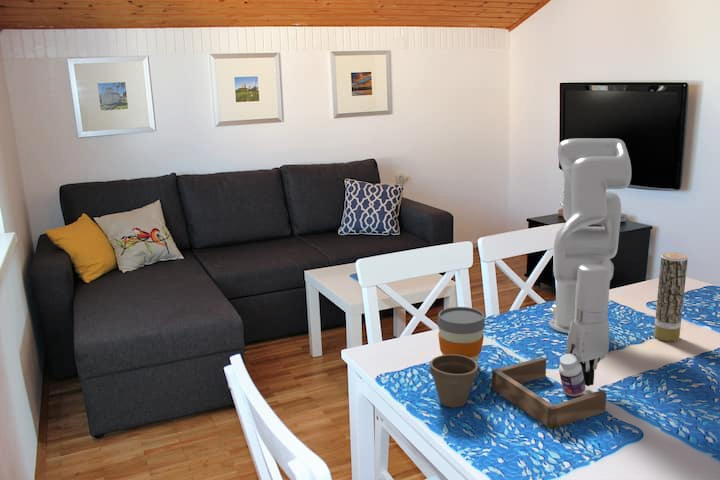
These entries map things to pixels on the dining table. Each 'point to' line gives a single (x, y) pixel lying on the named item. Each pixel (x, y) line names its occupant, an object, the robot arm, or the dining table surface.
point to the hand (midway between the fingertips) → (586, 383)
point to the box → (546, 413)
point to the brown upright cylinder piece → (670, 296)
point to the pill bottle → (571, 375)
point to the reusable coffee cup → (461, 331)
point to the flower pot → (453, 378)
